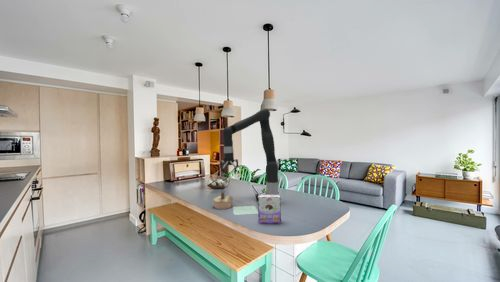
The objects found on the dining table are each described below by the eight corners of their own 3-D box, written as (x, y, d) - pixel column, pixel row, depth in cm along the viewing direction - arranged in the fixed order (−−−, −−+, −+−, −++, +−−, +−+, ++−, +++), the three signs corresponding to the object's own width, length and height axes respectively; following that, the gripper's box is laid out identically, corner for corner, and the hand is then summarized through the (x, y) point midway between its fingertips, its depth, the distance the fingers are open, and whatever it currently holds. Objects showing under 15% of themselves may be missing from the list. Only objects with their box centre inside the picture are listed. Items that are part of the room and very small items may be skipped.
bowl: (230, 203, 170) (230, 197, 170) (231, 209, 158) (231, 201, 158) (214, 204, 169) (214, 197, 169) (214, 210, 156) (213, 202, 156)
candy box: (280, 220, 135) (280, 194, 135) (281, 224, 130) (280, 196, 129) (258, 219, 137) (258, 194, 136) (258, 223, 131) (257, 196, 131)
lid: (232, 196, 172) (232, 189, 172) (233, 202, 157) (233, 194, 157) (213, 197, 170) (213, 190, 170) (212, 203, 155) (212, 195, 155)
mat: (255, 206, 164) (255, 205, 164) (258, 214, 147) (258, 213, 147) (232, 207, 162) (232, 206, 162) (233, 215, 145) (233, 214, 145)
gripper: (237, 151, 174) (238, 171, 174) (219, 152, 172) (220, 172, 172) (238, 152, 166) (238, 173, 166) (219, 153, 164) (220, 174, 164)
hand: (229, 172), depth 169 cm, fingers open, 8 cm apart
